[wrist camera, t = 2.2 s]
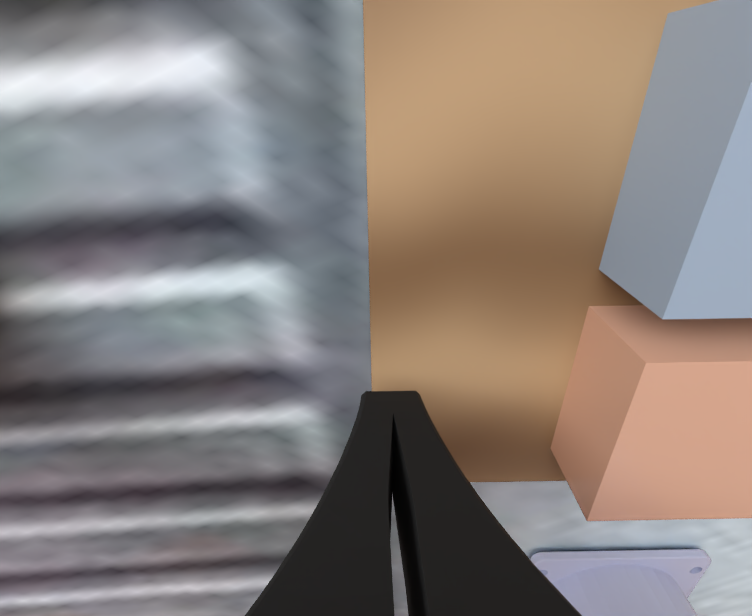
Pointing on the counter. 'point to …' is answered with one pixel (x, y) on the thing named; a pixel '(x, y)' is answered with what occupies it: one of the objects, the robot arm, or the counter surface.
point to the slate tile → (691, 173)
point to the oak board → (496, 205)
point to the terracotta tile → (658, 417)
